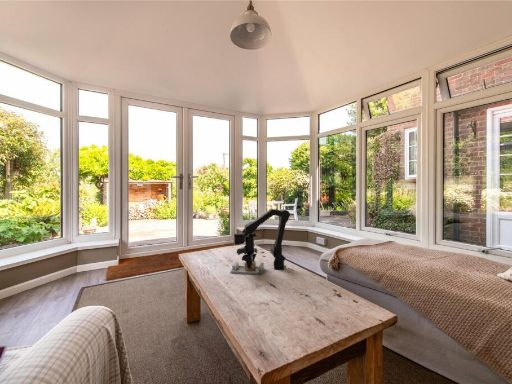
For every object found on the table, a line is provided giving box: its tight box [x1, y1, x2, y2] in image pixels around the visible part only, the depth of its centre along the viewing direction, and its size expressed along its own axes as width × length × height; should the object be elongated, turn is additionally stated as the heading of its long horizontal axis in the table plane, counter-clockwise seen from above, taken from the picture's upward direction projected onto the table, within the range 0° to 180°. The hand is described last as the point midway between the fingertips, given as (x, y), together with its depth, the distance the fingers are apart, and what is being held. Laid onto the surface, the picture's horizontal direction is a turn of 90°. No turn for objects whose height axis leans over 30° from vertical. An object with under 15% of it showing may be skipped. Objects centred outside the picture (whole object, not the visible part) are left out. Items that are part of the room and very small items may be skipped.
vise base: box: [230, 262, 265, 275], centre depth 157 cm, size 20×10×4 cm, turn 78°
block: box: [244, 260, 257, 271], centre depth 157 cm, size 6×4×5 cm
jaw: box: [231, 261, 240, 270], centre depth 159 cm, size 2×8×3 cm, turn 168°
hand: (250, 267), depth 157 cm, fingers open, 6 cm apart
